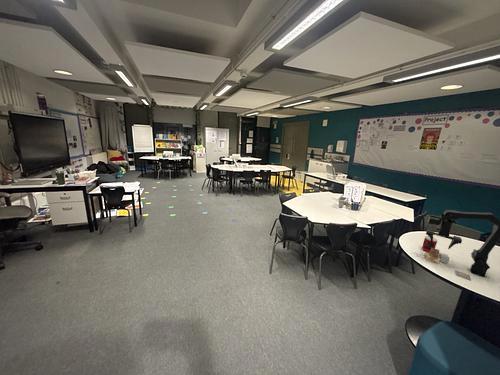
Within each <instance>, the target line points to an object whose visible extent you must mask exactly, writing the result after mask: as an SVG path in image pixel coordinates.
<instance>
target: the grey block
mask: <svg viewBox="0 0 500 375" xmlns="http://www.w3.org/2000/svg"><path fill="white" fill-rule="evenodd" d="M439 258H440V262H441V263H444V264H448V263H449V261H450V256H449V255H448V254H446V253H441V252H440V253H439ZM440 262H439V263H440Z"/></svg>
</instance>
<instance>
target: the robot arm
mask: <svg viewBox="0 0 500 375" xmlns="http://www.w3.org/2000/svg"><path fill="white" fill-rule="evenodd" d="M460 219H467V220H468V219H470V220H488V221H490V222H491V223H493V227H492V232H491V233H490V235H488V237H487V239H486V240H485V242H483V244H482V245H481V247H480V248H479V249H473V250H472V252H471V253H470V254H471V255H470V256H471V258H472V261H473V263H471V265H470V268H469V269H470V270H469V271H470V272H471V273H472V274H474V275H478V276H481V277H484V278H486V277H487V276H486V274H487V272H488V270H489V269H490V268H491V267H490V265H489V263H488V259H489V254H490V253H491V251H492V250H493V249H494V247H495V246H496V245H497V243H498V242H499V241H500V218H499V217H497V216H495V215H494V214H493V213H491V212H474V211H472V212H470V211H467V212H466V211H458V210H454V209H446V210H444V211H443V213H441V214H440V215H434V214H429V216H428V218H427V224H429V225H434V226H436V227H435V228H436V229H435V230H432V229H428V228H427V229H426V232H425V235H426V236H429V237H430V239H431V244H432V243H433V238H434V236H436V237H440V238H445V239H448V240H451V241H450V243H449V245H448V247H447V249H448V250H450V249H452V247H454V246H455V245H459V244H462V241H463V239H462V237H460V236H457V235H453V236H450V235H451V230H452V228H453V225H454V224H458V222H457V221H456V220H460ZM435 231H437V232H435Z"/></svg>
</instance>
